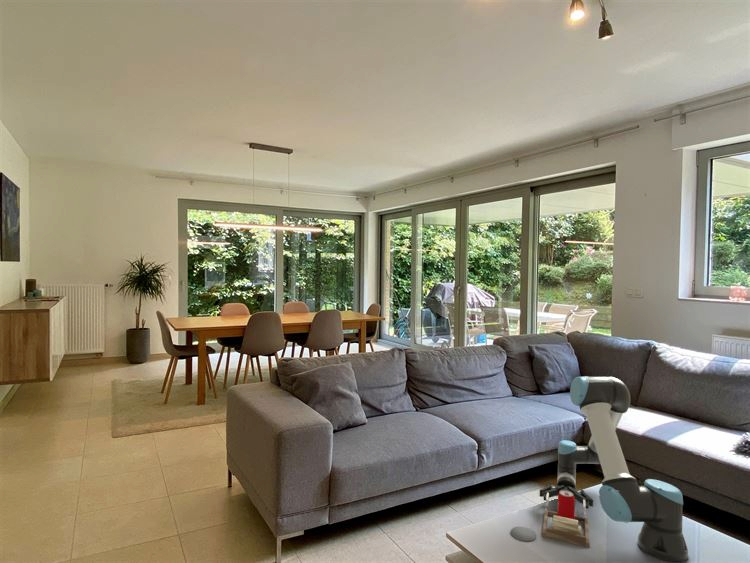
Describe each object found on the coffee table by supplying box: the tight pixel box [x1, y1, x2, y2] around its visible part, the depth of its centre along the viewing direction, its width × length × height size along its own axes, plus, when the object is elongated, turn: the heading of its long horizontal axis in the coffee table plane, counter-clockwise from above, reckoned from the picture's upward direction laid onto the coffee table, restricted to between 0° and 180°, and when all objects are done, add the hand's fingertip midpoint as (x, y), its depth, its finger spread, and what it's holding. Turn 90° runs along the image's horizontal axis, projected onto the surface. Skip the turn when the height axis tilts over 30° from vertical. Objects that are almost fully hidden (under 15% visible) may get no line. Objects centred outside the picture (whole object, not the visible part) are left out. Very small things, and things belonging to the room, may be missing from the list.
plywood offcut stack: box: [551, 515, 582, 535], centre depth 169 cm, size 4×10×6 cm, turn 66°
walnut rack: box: [541, 509, 591, 548], centre depth 174 cm, size 19×16×3 cm
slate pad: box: [510, 526, 537, 543], centre depth 170 cm, size 9×9×1 cm
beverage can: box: [557, 490, 576, 520], centre depth 178 cm, size 6×6×12 cm
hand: (565, 506), depth 178 cm, fingers open, 13 cm apart
